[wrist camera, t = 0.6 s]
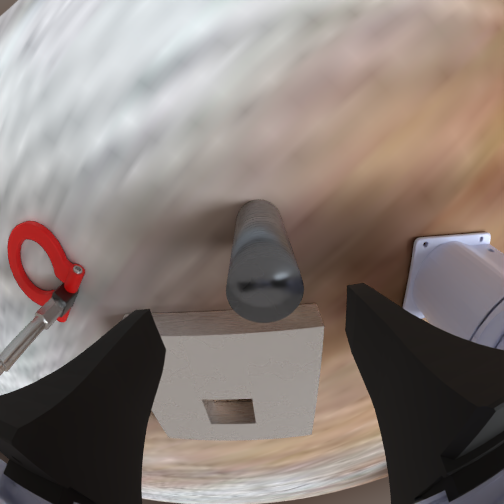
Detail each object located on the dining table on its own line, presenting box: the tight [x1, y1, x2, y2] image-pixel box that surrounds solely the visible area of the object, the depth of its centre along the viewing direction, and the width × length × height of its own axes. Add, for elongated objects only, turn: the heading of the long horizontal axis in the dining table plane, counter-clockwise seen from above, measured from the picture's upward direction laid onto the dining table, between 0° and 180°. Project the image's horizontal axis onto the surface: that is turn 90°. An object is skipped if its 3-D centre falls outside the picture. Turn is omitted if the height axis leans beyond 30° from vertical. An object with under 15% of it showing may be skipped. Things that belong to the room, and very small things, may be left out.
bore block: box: [122, 303, 324, 440], centre depth 24 cm, size 16×16×3 cm
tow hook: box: [0, 221, 85, 375], centre depth 15 cm, size 8×13×9 cm
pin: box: [226, 200, 304, 323], centre depth 15 cm, size 3×3×9 cm
